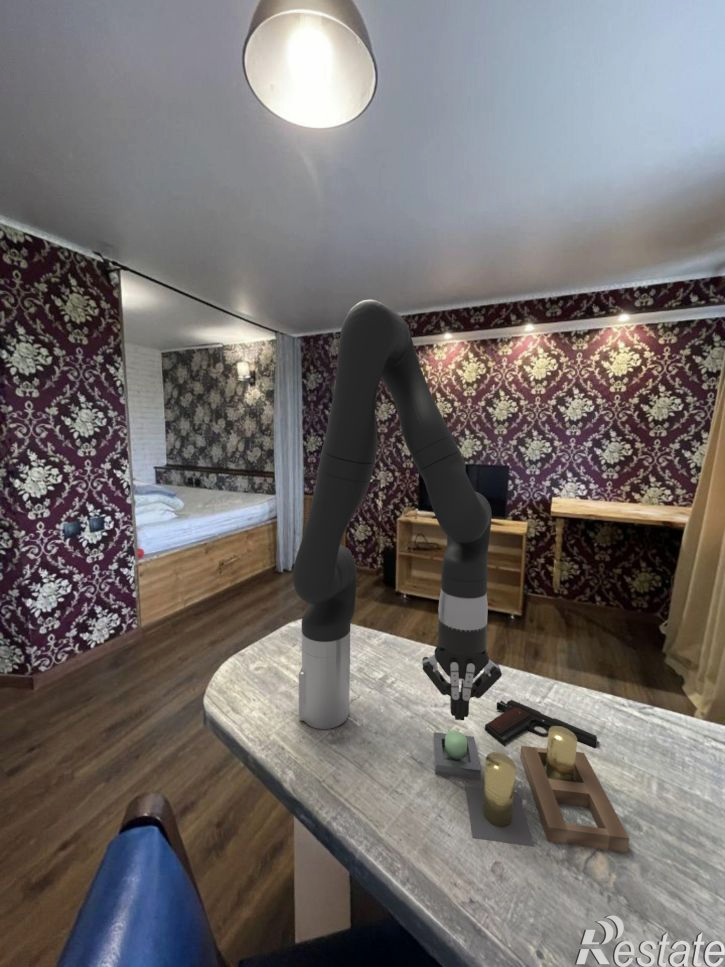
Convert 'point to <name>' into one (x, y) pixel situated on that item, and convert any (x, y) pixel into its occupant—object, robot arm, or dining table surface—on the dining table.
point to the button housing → (456, 767)
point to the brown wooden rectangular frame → (573, 803)
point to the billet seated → (561, 754)
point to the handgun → (529, 724)
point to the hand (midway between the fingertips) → (459, 716)
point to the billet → (498, 789)
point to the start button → (456, 745)
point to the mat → (487, 831)
